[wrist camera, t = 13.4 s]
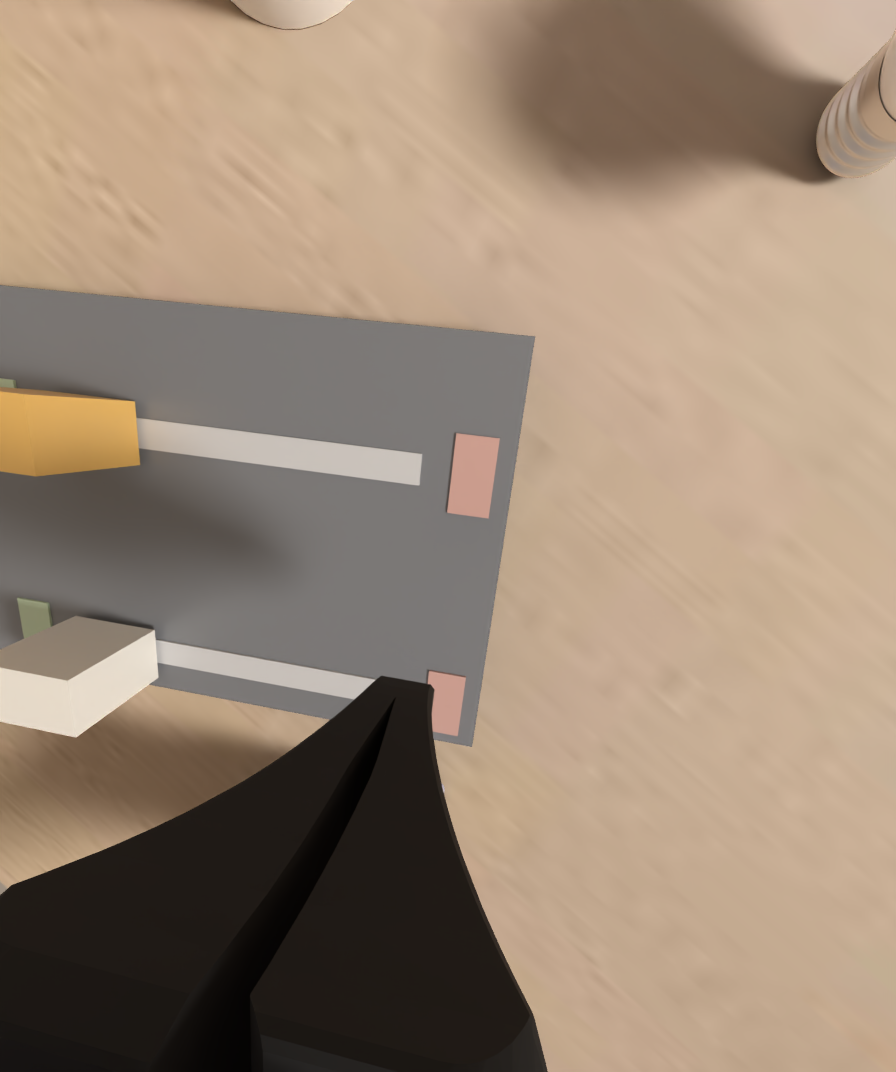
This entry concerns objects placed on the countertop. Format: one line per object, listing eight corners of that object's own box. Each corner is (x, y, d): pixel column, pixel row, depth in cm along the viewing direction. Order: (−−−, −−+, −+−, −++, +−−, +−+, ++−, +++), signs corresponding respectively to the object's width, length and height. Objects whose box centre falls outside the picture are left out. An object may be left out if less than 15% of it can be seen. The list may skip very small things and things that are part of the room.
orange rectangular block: (140, 465, 17) (35, 476, 13) (52, 453, 18) (-73, 460, 14) (134, 401, 17) (23, 394, 13) (44, 390, 17) (-90, 380, 13)
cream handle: (158, 677, 20) (76, 737, 16) (82, 663, 20) (-17, 718, 17) (154, 629, 19) (67, 680, 15) (75, 615, 20) (-29, 661, 16)
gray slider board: (475, 717, 21) (471, 748, 19) (42, 636, 23) (-2, 656, 21) (531, 346, 16) (535, 336, 14) (-13, 293, 19) (-76, 277, 17)
